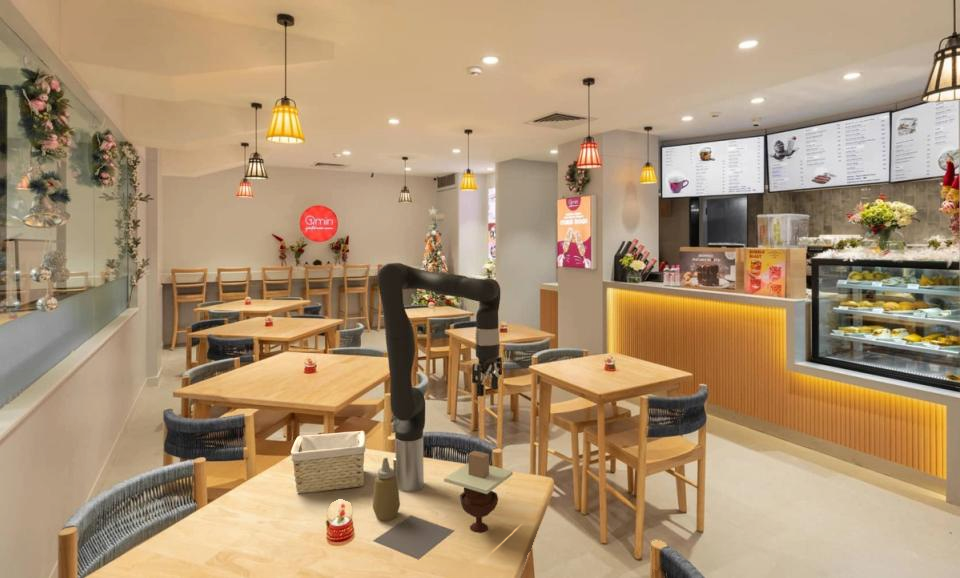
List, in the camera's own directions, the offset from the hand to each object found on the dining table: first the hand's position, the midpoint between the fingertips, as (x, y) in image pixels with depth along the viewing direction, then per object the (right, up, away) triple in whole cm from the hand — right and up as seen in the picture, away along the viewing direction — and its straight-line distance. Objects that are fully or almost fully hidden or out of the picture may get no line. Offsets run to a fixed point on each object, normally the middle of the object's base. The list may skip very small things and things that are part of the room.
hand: (487, 392), depth 165 cm
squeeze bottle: (-30, -35, -10) cm, 48 cm away
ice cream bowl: (-3, -36, -17) cm, 40 cm away
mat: (-21, -36, -21) cm, 46 cm away
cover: (-3, -21, -18) cm, 27 cm away
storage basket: (-54, -34, +14) cm, 65 cm away
